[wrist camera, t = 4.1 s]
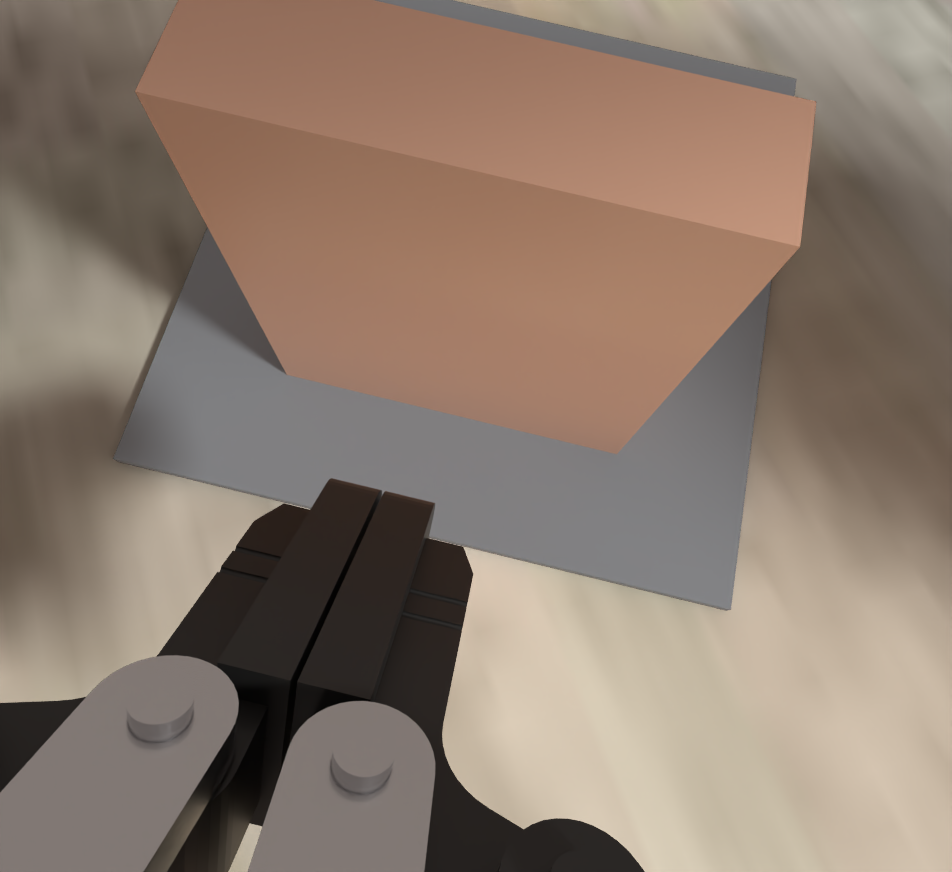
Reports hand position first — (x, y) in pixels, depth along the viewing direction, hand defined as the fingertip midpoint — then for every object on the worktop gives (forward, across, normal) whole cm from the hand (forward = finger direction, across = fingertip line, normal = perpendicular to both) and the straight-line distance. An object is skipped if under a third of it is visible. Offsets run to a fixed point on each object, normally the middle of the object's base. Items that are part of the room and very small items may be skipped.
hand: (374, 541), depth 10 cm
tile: (+10, 0, +1) cm, 10 cm away
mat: (+13, 0, -1) cm, 13 cm away
